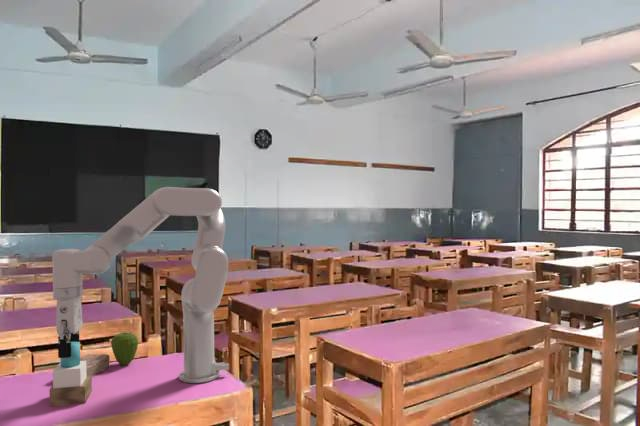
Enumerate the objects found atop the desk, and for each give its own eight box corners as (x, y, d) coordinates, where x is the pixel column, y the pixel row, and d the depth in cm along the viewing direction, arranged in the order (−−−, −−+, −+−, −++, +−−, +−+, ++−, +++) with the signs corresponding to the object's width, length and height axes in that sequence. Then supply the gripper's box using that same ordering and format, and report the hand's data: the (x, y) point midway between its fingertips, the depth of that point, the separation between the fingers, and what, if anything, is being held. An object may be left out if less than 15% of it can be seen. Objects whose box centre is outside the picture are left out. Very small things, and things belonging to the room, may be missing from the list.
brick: (79, 384, 156) (79, 369, 156) (55, 383, 157) (55, 368, 157) (110, 367, 172) (110, 354, 172) (88, 366, 174) (88, 353, 174)
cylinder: (81, 361, 147) (81, 341, 147) (78, 366, 142) (77, 345, 142) (63, 363, 146) (62, 342, 146) (58, 368, 141) (58, 347, 141)
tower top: (86, 377, 148) (86, 360, 148) (80, 386, 141) (80, 368, 141) (60, 379, 146) (60, 362, 146) (53, 388, 140) (52, 370, 140)
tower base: (91, 392, 150) (91, 375, 150) (85, 404, 141) (84, 386, 141) (58, 395, 148) (58, 378, 148) (49, 407, 139) (49, 389, 139)
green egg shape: (143, 362, 177) (143, 329, 177) (127, 369, 169) (126, 335, 169) (122, 359, 180) (122, 327, 179) (106, 367, 171) (105, 333, 171)
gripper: (75, 297, 136) (76, 360, 137) (88, 287, 153) (89, 343, 153) (44, 299, 134) (45, 362, 135) (61, 288, 151) (62, 344, 152)
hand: (69, 352), depth 144 cm, fingers open, 9 cm apart
